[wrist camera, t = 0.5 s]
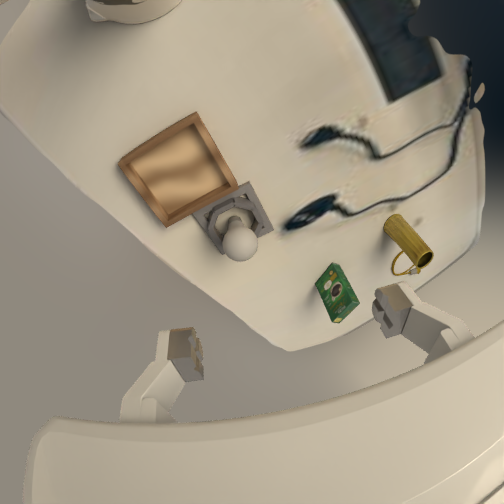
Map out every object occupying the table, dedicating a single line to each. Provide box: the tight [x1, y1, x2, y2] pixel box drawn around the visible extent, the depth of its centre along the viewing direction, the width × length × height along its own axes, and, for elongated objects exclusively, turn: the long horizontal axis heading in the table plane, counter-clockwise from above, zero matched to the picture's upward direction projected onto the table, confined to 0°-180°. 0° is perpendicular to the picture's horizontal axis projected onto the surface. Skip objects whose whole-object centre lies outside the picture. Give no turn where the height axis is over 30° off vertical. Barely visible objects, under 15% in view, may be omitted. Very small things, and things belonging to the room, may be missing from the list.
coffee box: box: [315, 263, 360, 323], centre depth 64 cm, size 8×3×13 cm, turn 152°
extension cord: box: [392, 251, 421, 276], centre depth 73 cm, size 12×16×2 cm
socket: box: [192, 181, 274, 255], centre depth 53 cm, size 12×12×2 cm
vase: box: [384, 214, 434, 269], centre depth 57 cm, size 6×6×14 cm
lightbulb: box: [222, 216, 258, 261], centre depth 50 cm, size 6×6×11 cm
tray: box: [118, 111, 239, 228], centre depth 44 cm, size 15×15×3 cm
